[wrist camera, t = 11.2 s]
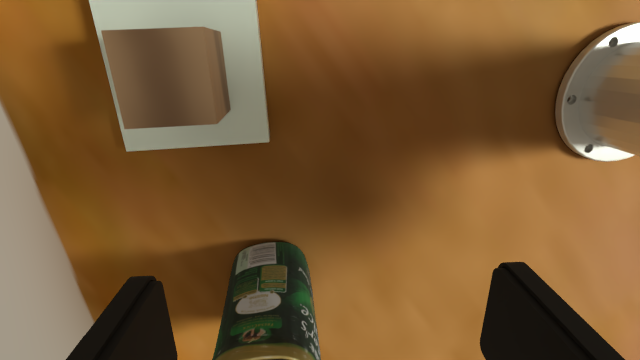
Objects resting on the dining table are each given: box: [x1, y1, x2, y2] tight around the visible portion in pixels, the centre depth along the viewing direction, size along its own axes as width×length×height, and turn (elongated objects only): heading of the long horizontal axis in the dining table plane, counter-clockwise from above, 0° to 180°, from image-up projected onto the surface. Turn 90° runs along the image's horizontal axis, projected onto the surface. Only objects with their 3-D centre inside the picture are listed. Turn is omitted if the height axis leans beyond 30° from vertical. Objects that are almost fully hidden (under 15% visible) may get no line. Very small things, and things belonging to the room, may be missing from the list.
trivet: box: [89, 0, 270, 152], centre depth 28 cm, size 12×12×2 cm
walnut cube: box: [101, 27, 231, 129], centre depth 25 cm, size 6×6×6 cm
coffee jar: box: [212, 242, 321, 360], centre depth 28 cm, size 10×8×19 cm
